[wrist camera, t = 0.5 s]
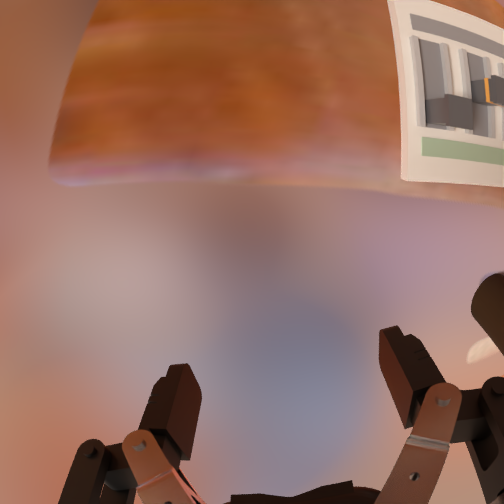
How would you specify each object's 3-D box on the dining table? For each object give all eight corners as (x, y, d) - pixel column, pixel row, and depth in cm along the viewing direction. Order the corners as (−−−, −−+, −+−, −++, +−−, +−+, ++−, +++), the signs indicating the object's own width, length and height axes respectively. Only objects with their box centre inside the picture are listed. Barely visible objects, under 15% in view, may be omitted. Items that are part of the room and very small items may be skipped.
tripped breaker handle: (468, 78, 27) (494, 74, 22) (486, 84, 27) (512, 81, 22) (470, 103, 29) (497, 103, 23) (488, 108, 29) (514, 108, 23)
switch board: (386, -5, 26) (411, -28, 18) (509, 37, 25) (540, 30, 17) (400, 178, 36) (432, 190, 28) (517, 187, 35) (550, 199, 27)
